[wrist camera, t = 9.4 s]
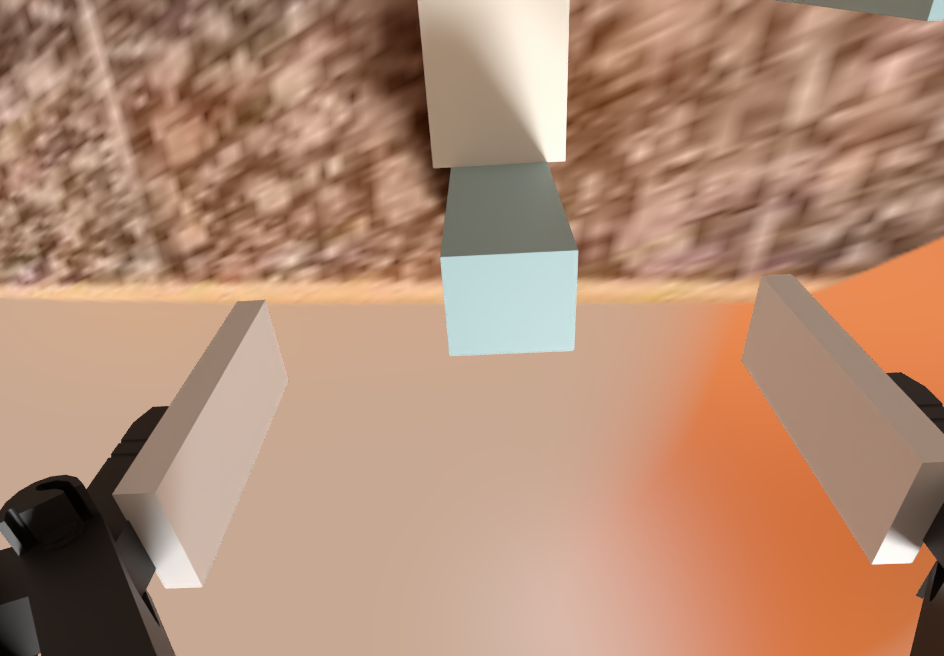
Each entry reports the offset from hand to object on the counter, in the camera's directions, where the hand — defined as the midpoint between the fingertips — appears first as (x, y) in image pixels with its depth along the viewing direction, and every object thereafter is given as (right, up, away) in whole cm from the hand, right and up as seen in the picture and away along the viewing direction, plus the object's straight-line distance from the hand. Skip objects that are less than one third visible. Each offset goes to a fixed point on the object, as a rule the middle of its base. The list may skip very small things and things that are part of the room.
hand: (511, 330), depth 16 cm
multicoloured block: (0, +13, +6) cm, 14 cm away
